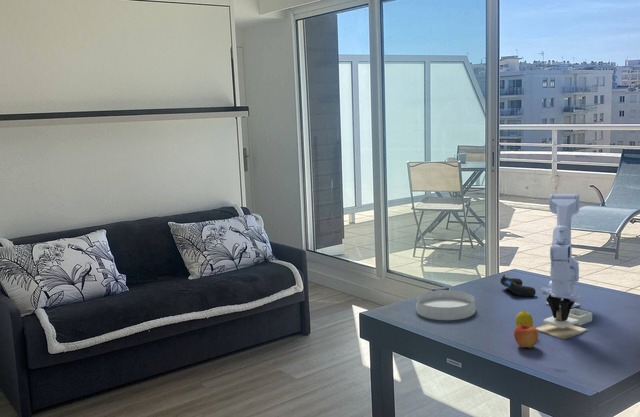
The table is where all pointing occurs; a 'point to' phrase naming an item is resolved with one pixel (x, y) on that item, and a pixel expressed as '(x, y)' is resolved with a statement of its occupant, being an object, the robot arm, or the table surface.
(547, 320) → the lid
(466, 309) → the dish
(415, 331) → the table surface
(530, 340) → the apple
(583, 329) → the birch board
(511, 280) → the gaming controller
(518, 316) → the lemon
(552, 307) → the robot arm
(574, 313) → the storage box
